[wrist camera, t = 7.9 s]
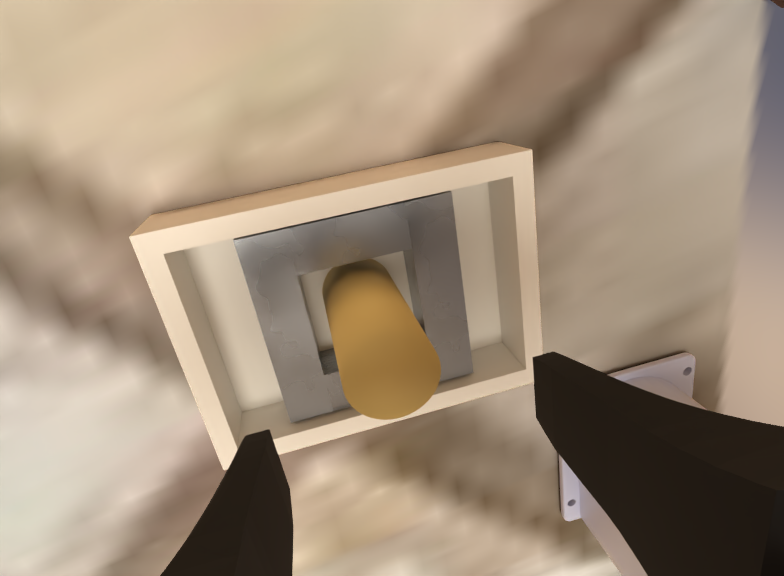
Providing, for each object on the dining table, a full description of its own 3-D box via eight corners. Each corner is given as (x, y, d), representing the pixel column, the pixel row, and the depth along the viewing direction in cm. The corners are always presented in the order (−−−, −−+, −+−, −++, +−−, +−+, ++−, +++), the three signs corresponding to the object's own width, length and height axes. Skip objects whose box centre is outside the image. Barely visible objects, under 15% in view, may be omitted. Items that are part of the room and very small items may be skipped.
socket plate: (458, 350, 23) (473, 372, 21) (289, 395, 22) (290, 422, 20) (435, 182, 20) (451, 192, 18) (237, 226, 19) (233, 240, 17)
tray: (514, 347, 24) (544, 379, 22) (229, 424, 23) (223, 470, 20) (498, 141, 20) (532, 149, 18) (150, 215, 19) (128, 236, 16)
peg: (395, 315, 22) (443, 408, 15) (327, 327, 21) (348, 428, 15) (389, 251, 21) (438, 323, 14) (317, 262, 20) (335, 342, 14)
